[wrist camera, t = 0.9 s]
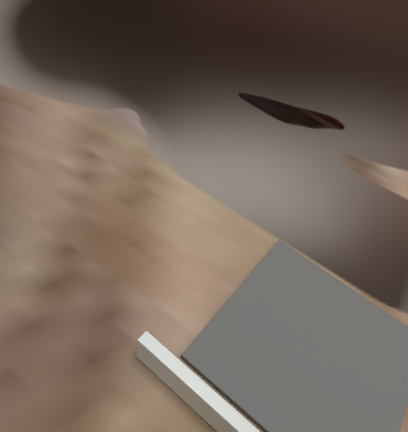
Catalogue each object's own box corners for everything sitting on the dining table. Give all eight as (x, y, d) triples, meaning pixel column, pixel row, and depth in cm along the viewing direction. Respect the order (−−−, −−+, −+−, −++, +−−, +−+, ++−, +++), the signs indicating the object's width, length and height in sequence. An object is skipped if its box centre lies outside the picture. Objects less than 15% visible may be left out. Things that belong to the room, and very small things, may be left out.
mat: (180, 357, 31) (181, 355, 31) (277, 242, 42) (279, 239, 42) (367, 522, 26) (371, 522, 26) (422, 342, 37) (426, 340, 37)
